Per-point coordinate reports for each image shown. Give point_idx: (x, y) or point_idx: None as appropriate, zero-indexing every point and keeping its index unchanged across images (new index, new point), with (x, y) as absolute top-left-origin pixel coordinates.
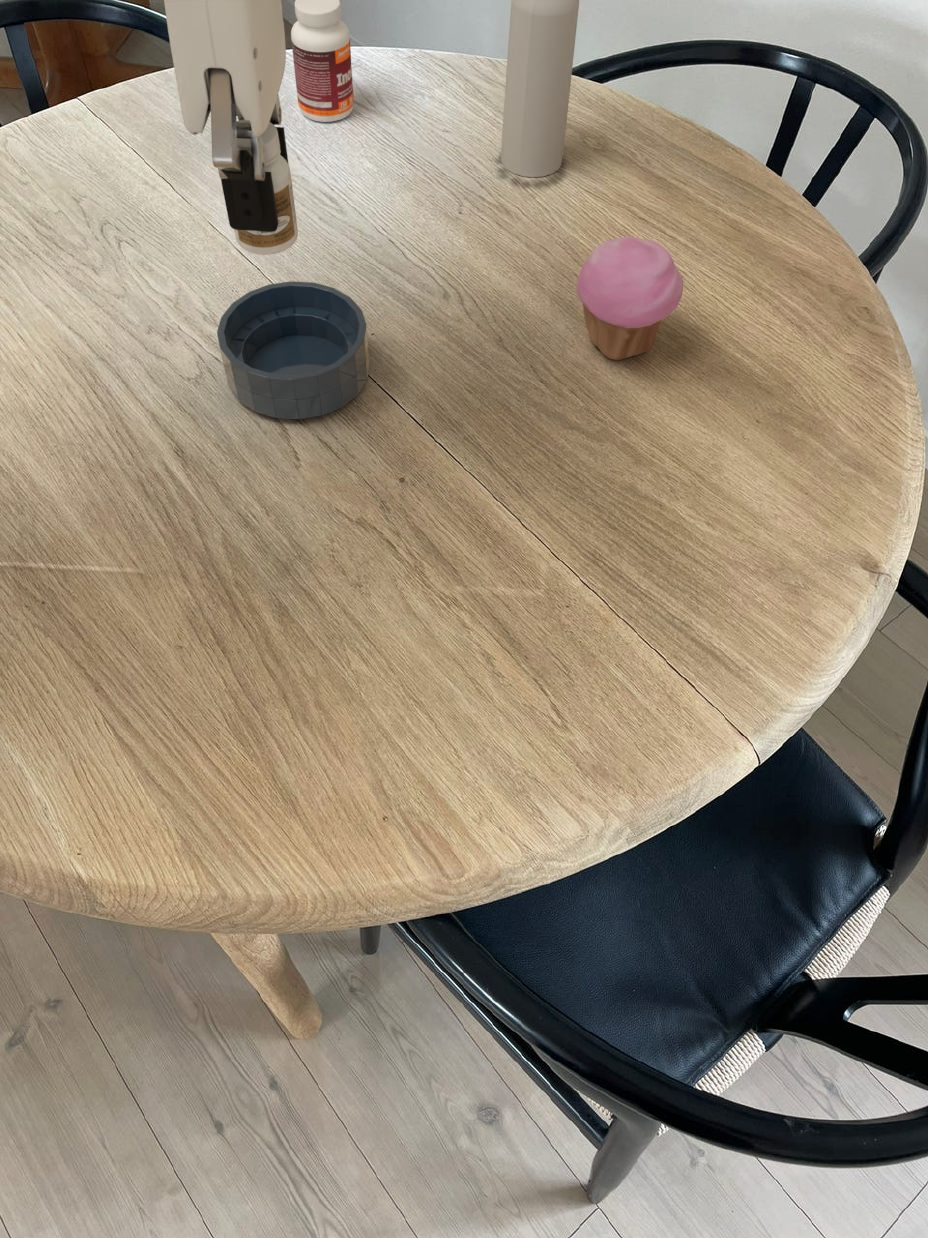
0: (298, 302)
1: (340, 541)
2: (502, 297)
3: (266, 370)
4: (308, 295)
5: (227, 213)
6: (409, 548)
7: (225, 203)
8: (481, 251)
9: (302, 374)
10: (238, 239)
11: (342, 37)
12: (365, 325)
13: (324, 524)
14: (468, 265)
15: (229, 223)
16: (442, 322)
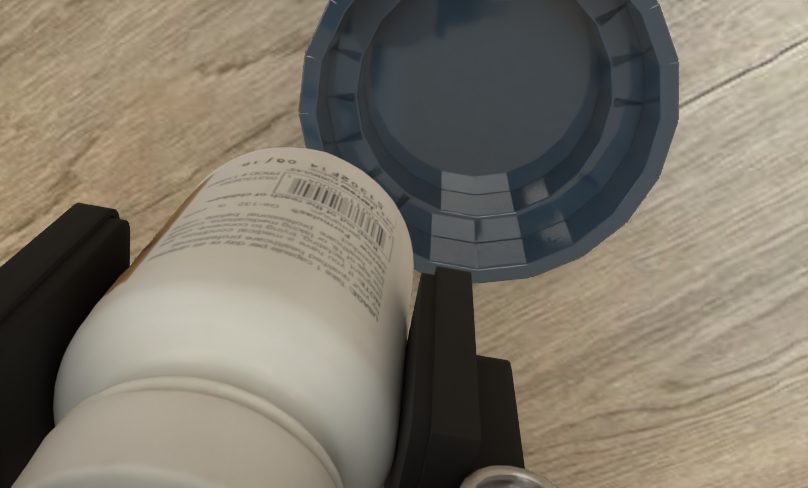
0: (642, 118)
1: (19, 140)
2: (644, 473)
3: (484, 10)
4: (640, 151)
5: (48, 226)
6: None
7: (20, 250)
8: (797, 462)
9: (313, 135)
10: (220, 169)
11: None
12: (472, 281)
13: (56, 114)
14: (760, 435)
15: (72, 206)
16: (594, 370)
